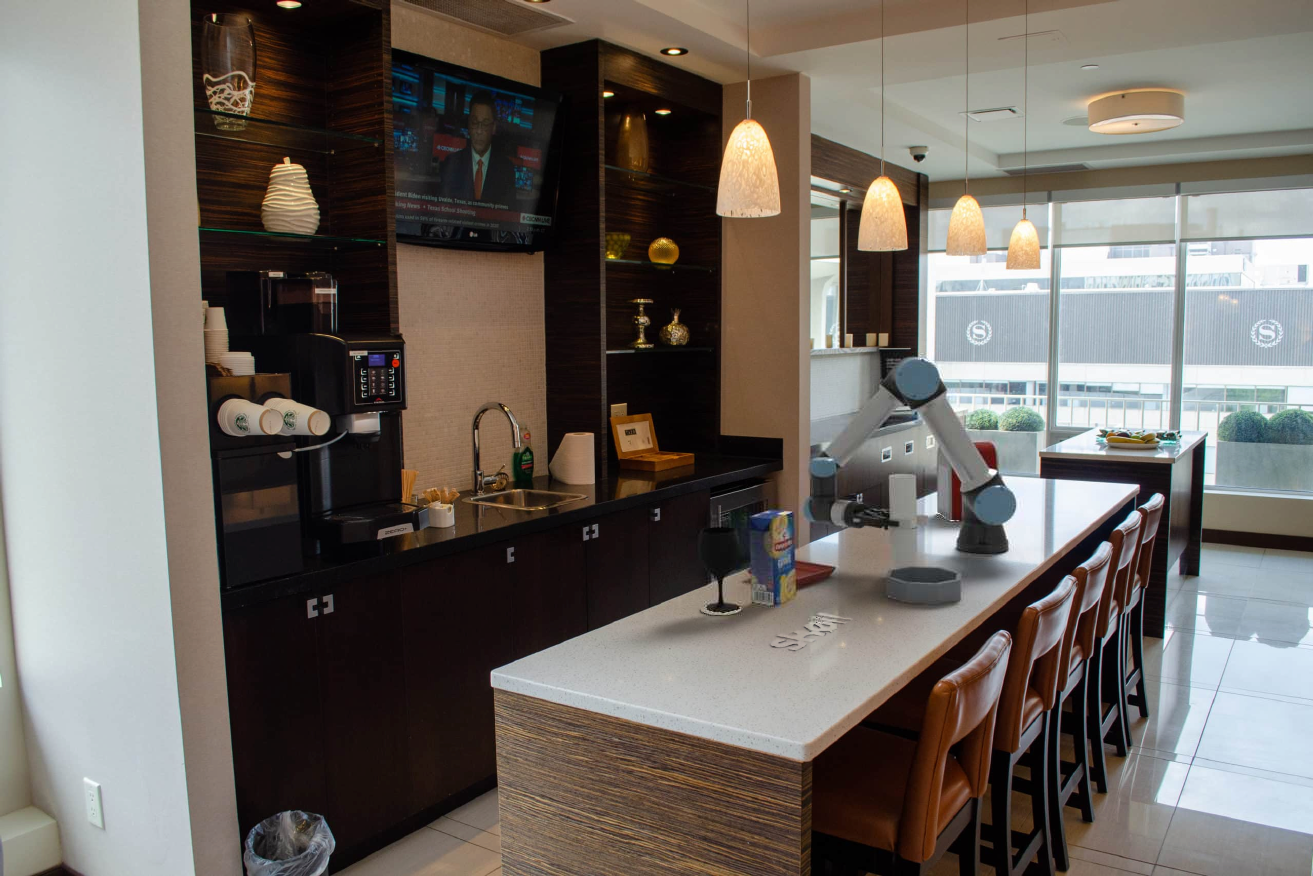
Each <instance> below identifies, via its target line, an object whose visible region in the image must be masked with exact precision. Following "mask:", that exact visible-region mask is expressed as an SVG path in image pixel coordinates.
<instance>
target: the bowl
mask: <svg viewBox="0 0 1313 876" xmlns="http://www.w3.org/2000/svg"><path fill="white" fill-rule="evenodd" d="M886 595H887V596H890V597H891V598H890V597H889V598H890V599H893V598H895V599H894V600H896V599H898V600H897V601H899V600H901V601H900V602H902V601H904V602H903V603H905V602H912V603H911V604H918V603H925V604H924V605H942V604H945V603H951V602H956V601H961V598H962V572H958V571H957V570H956V571H955V570H952V569H948V568H944V567H937V566H935V567H934V566H910V567H904V568H893V569H888V570H887V573H886V575H885V596H886ZM887 596H886V597H887ZM941 603H942V604H941Z"/></svg>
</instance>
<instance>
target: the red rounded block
mask: <svg viewBox="0 0 1313 876" xmlns="http://www.w3.org/2000/svg"><path fill="white" fill-rule="evenodd" d="M972 442H973V443H974V445H975V446H976V448H977V450H978V451H979V453H980V455H981V456H982V458H983V460H984V461H985V463H986V464H987V466H988V468H990V469H994V470H996V471H997V472H998V474H1000V473H999V472H1000V471H999V469H1000V467H999V465H1000V464H999V462H1000V460H999V452H998V449H997V446H996V445H995V444H994V442H992V441H990V440H974V441H973V440H972ZM961 483H962V482H961V481H960V479H959V477H958V476H957V474H956V472H955V471H954V469H953V467H952V466H951V464H950V462H949V461H948V459H947V458H946V456H945V454H944V453H943V451H942V449H941V448H940V446H939V445H938V446H937V451H936V503H937V505H936V506H937V512H938V513H940V514H941V515H943V516H944V517H946V519H948V520H962V492H961V491H960V488H961ZM946 519H945V520H946ZM948 520H947V521H948Z"/></svg>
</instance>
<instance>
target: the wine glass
mask: <svg viewBox="0 0 1313 876" xmlns="http://www.w3.org/2000/svg"><path fill="white" fill-rule="evenodd" d="M697 555H698V559H699V562H700V563H701V565H702V566H703V568H704V570H706V572H708V573H709V574H710V575H712V576H713V577H714V578H715V579H716V581H717V587H718V600H717V602H713V603H708V604H709V605H708V604H706V605H707V607H706V608H707V610H709V611H713V612H721V613H725V612H730V611H734V610H738V609H740V608H739V607H740V606H741V605H739V604H737V603H736V604H737V605H736V604H735V603H731V602H725V601H724V596H723V592H724V591H723V583H724V579H725V577H727V576H728V575H729V574H730V573H731V572H732V571H733V570H734V569H735V568H736V567H737V565H738V563H739V561H740V557H741V542H740V538H739V535H738V531H737V529H736V528H734V527H730V526H729V527H728V526H712V527H706V528H702V529H701V530H700V533H699V536H698V542H697ZM738 605H739V606H738Z"/></svg>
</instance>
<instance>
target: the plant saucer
mask: <svg viewBox="0 0 1313 876" xmlns="http://www.w3.org/2000/svg"><path fill="white" fill-rule="evenodd" d="M836 569H837V567H836V566H832V565H826V564H821V563H820V564H819V563H815V562H814V563H813V562H809V561H802V560H797V559H795V579H796V588H799V586H800V587H802V585H803V586H805V585H808V584H812V583H815V582H818V581H821V580H823V579H828V578H829V577H830V576H831V574H833V572H834V571H835V570H836ZM746 572H747V573H748V574H749V575H750V576H751V571H750V568H746Z"/></svg>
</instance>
